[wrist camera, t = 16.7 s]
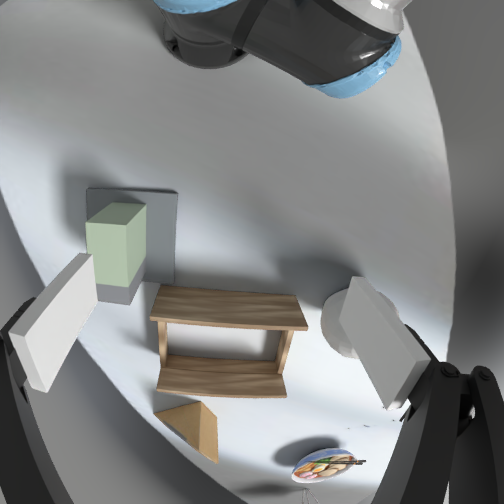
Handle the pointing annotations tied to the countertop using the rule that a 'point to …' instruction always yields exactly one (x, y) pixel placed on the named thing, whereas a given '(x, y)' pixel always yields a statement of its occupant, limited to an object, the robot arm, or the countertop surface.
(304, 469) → the ramen bowl
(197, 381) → the wooden display shelf
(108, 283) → the capped box
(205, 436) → the sandwich container
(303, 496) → the flower bouquet
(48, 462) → the robot arm
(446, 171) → the countertop surface
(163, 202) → the slate mat
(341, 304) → the soap bottle
